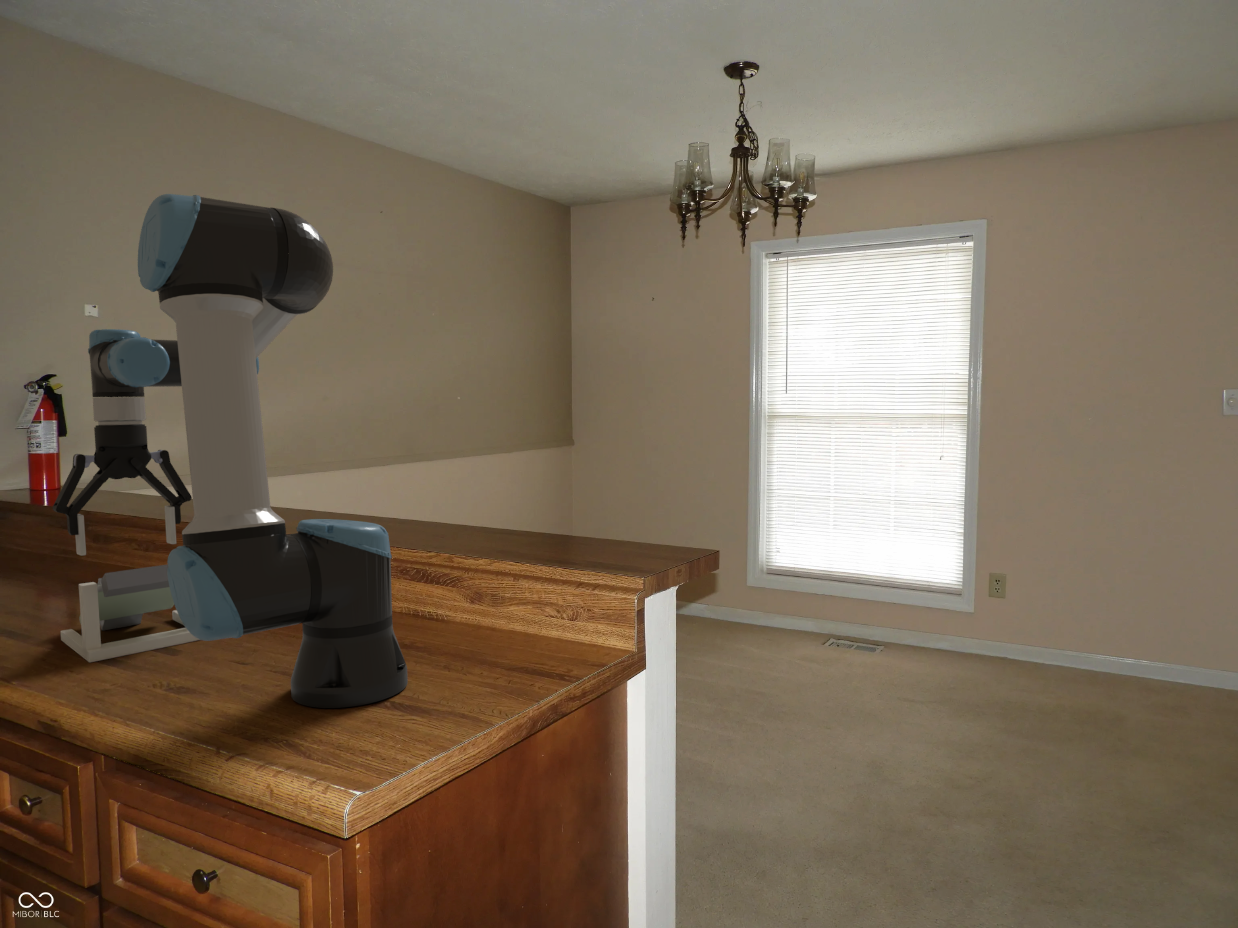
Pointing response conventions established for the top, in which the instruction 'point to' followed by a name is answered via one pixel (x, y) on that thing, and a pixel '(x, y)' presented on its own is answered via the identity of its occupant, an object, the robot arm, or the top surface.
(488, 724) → the top surface
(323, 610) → the robot arm
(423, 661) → the top surface
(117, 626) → the basalt block
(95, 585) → the stand
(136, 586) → the trapdoor
